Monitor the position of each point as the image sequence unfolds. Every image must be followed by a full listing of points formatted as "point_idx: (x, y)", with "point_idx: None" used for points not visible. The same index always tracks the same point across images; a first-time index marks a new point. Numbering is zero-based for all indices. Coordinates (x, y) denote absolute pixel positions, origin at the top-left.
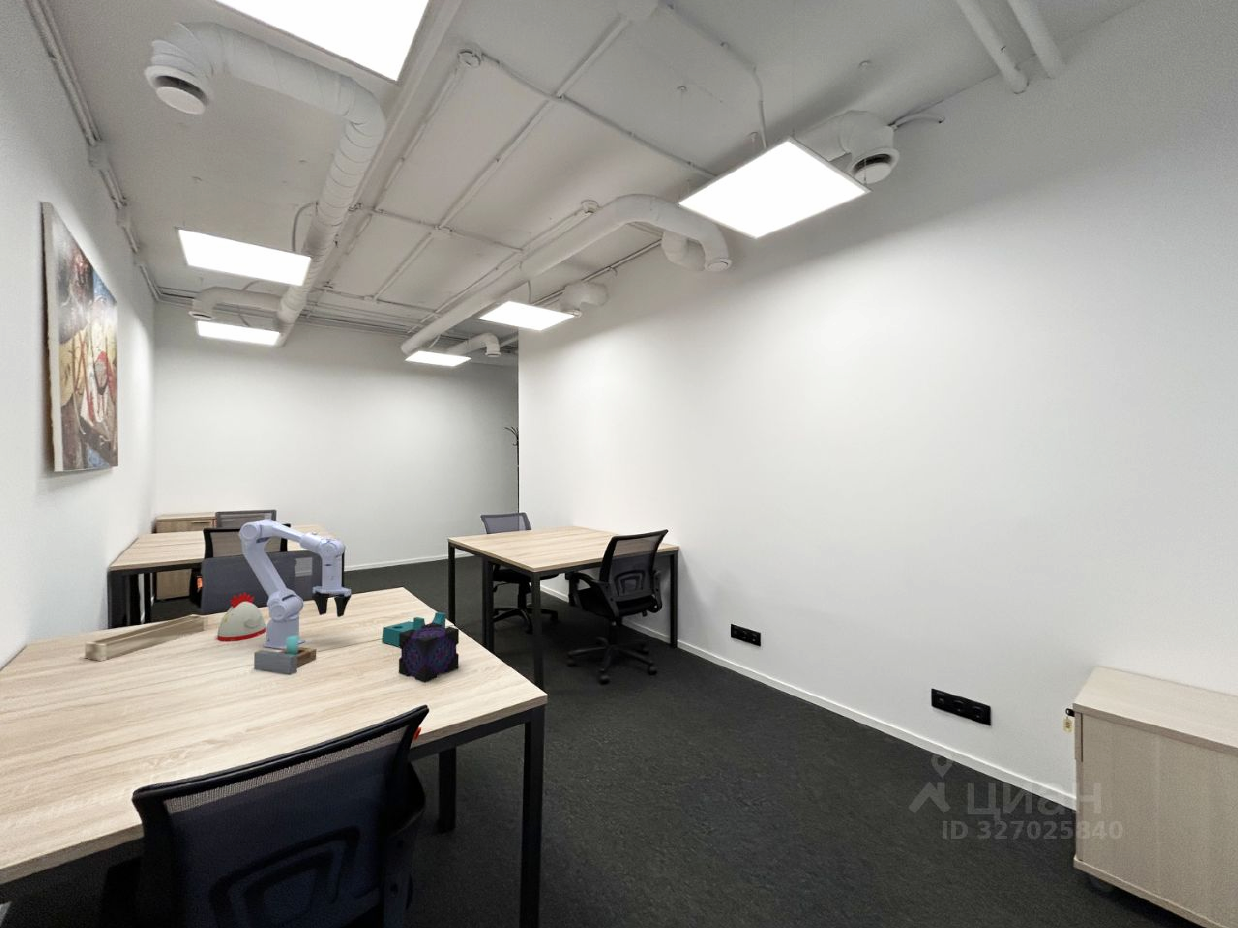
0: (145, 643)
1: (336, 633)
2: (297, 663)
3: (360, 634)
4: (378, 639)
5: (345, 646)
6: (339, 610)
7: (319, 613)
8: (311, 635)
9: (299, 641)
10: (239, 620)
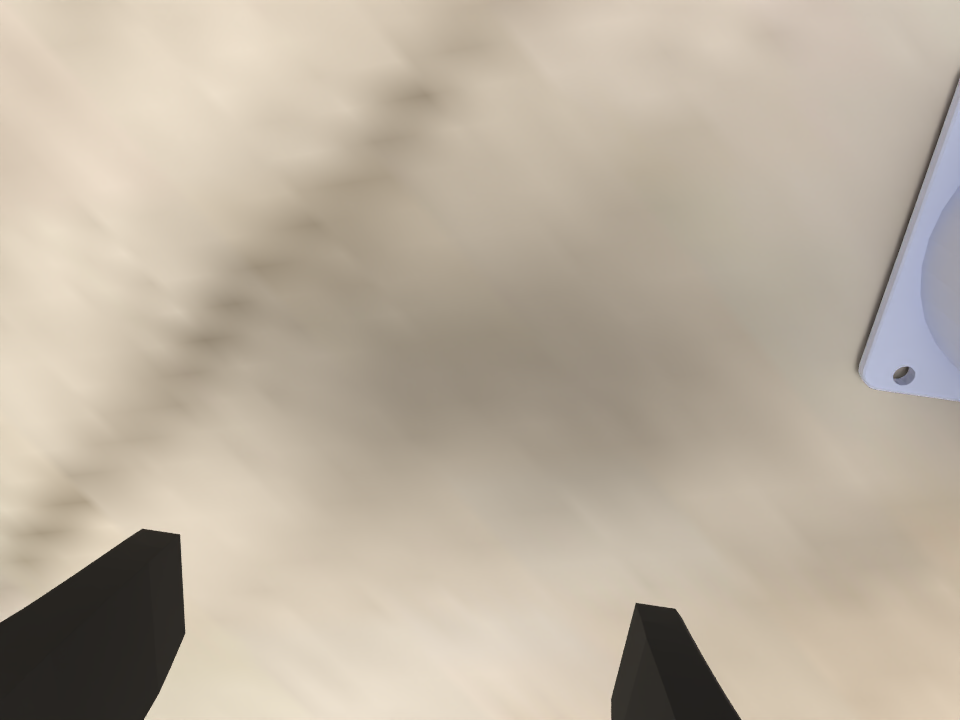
0: None
1: None
2: None
3: (353, 629)
4: (47, 527)
5: (222, 299)
6: (22, 618)
7: (676, 622)
8: (910, 558)
9: (910, 324)
10: None
